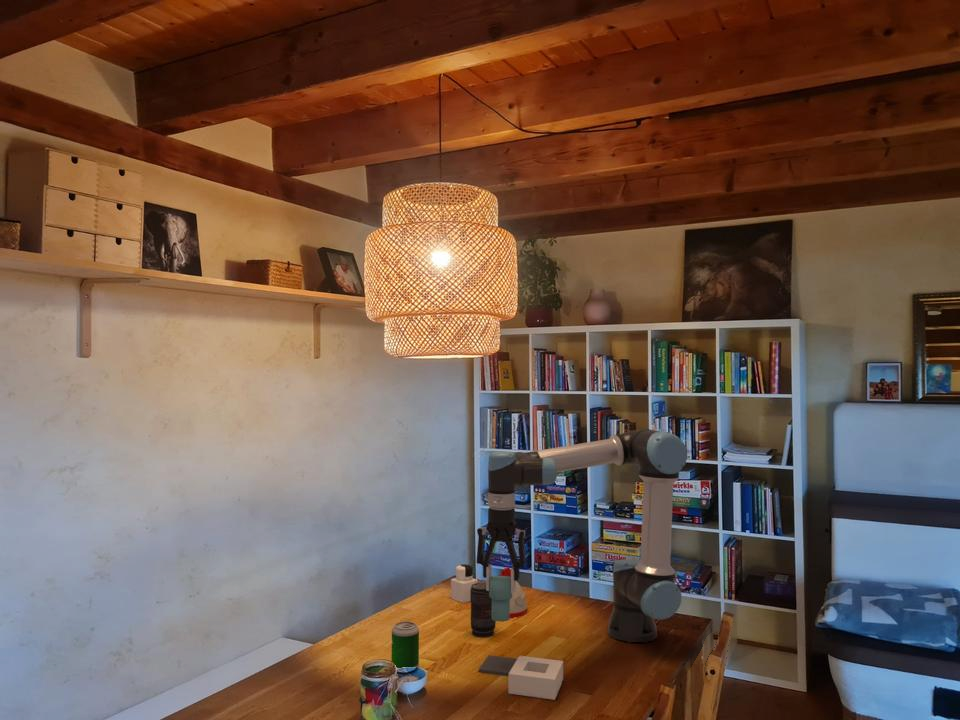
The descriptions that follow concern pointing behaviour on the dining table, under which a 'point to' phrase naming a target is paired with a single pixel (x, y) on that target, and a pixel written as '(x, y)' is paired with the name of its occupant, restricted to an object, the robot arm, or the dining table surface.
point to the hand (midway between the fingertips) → (501, 590)
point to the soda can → (405, 645)
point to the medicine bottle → (462, 583)
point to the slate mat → (497, 665)
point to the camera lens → (481, 611)
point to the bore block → (536, 677)
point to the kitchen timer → (516, 598)
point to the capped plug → (500, 597)
